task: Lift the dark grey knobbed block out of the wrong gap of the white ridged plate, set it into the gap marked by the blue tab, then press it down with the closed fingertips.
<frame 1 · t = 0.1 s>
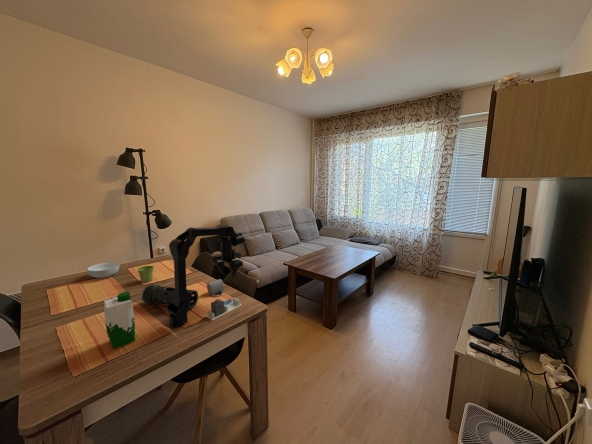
hand: (227, 276, 126), 15 cm above the table, fingers open, 9 cm apart
plant pot: (146, 280, 152), on the table
cereal bowl: (105, 276, 158), on the table
muzzle brake: (170, 306, 122), on the table
white ridged plate: (224, 311, 118), on the table
milk carton: (122, 341, 96), on the table
dark grey knobbed block: (217, 313, 115), point 1 cm above the table, touching white ridged plate
ceramic mug: (216, 294, 136), on the table
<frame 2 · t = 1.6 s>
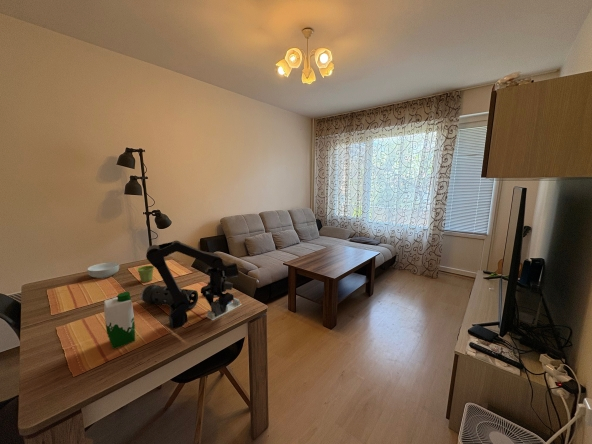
hand: (217, 309, 114), 3 cm above the table, fingers open, 9 cm apart
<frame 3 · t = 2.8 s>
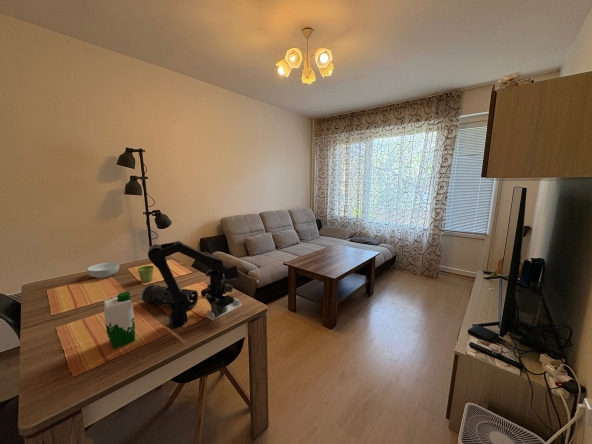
hand: (217, 312, 115), 2 cm above the table, fingers closed on dark grey knobbed block, 4 cm apart
dark grey knobbed block: (217, 313, 115), point 1 cm above the table, touching white ridged plate, gripper
everything else where it was.
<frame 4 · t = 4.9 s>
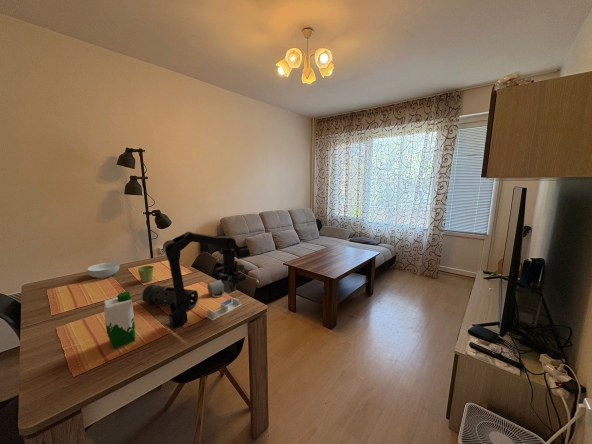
hand: (229, 289, 119), 10 cm above the table, fingers closed on dark grey knobbed block, 4 cm apart
dark grey knobbed block: (229, 291, 119), point 10 cm above the table, touching gripper
when the fingers open (3 cm above the table, at t = 6.8 s): dark grey knobbed block drops 1 cm, resting on white ridged plate.
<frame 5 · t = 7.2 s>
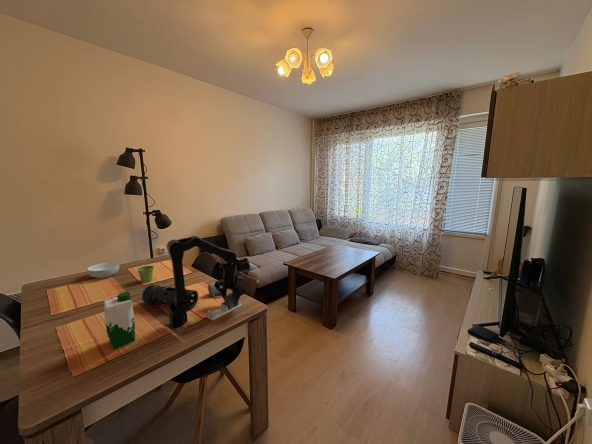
hand: (230, 302, 121), 3 cm above the table, fingers open, 8 cm apart
dark grey knobbed block: (230, 306, 121), point 1 cm above the table, touching white ridged plate
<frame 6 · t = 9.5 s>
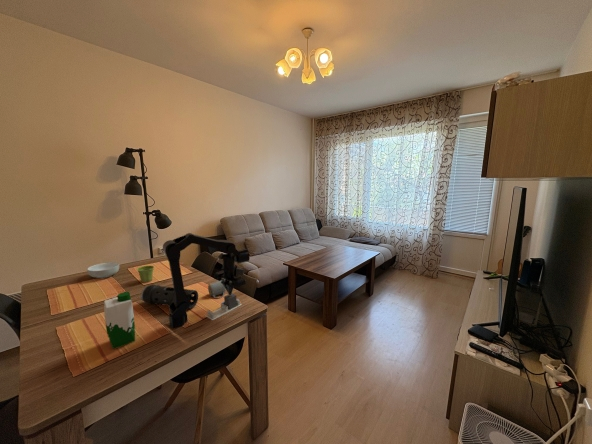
hand: (230, 294, 120), 8 cm above the table, fingers closed, pressing on dark grey knobbed block
dark grey knobbed block: (230, 306, 121), point 1 cm above the table, touching white ridged plate, gripper
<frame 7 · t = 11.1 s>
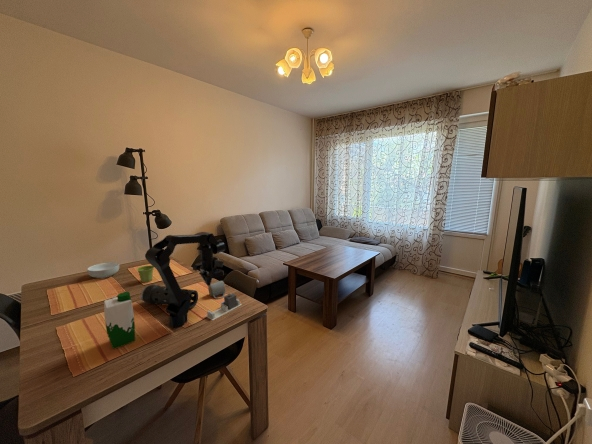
hand: (208, 285, 120), 12 cm above the table, fingers closed
dark grey knobbed block: (230, 306, 121), point 1 cm above the table, touching white ridged plate
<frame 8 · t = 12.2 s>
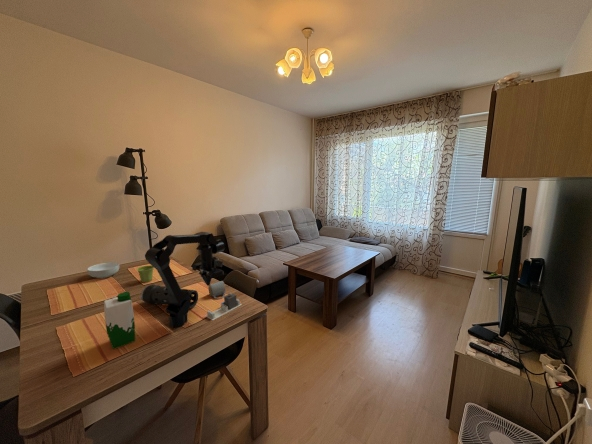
hand: (208, 285, 120), 12 cm above the table, fingers closed
at the end: dark grey knobbed block 0.0 cm from the target spot on the white ridged plate, point 0.8 cm above the white ridged plate's base; dark grey knobbed block tilted 0°; the gripper is holding nothing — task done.
